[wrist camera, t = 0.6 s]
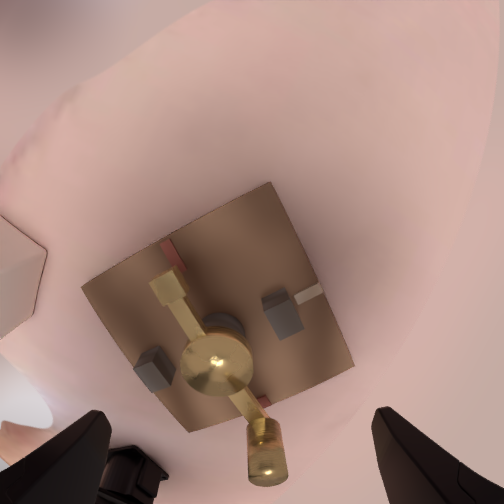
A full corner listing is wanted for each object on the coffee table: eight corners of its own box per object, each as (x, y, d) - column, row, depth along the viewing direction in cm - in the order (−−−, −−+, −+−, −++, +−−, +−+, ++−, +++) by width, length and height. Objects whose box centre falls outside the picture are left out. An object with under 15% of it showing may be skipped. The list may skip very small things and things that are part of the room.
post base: (190, 424, 25) (185, 453, 21) (87, 282, 21) (63, 299, 18) (350, 358, 24) (366, 384, 20) (269, 182, 20) (275, 181, 17)
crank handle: (243, 435, 20) (245, 493, 15) (135, 286, 17) (96, 327, 12) (295, 416, 20) (309, 474, 14) (197, 253, 17) (176, 287, 11)
